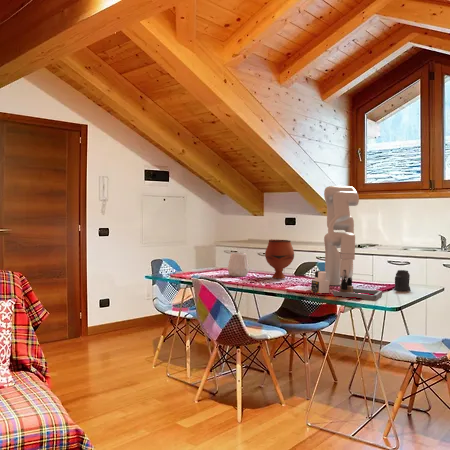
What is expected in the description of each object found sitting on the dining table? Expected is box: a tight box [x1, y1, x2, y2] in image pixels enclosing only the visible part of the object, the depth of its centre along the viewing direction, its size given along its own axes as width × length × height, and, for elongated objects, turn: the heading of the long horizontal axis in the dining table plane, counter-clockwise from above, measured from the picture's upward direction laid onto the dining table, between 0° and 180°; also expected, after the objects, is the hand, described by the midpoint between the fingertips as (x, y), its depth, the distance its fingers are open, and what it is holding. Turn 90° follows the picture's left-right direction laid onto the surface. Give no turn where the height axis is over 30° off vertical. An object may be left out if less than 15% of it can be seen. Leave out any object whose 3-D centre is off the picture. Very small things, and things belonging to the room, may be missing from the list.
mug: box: [393, 269, 411, 293], centre depth 285 cm, size 12×9×11 cm
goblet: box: [264, 238, 295, 280], centre depth 328 cm, size 19×19×25 cm
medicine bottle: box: [310, 270, 330, 294], centre depth 273 cm, size 7×7×12 cm
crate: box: [339, 285, 354, 293], centre depth 268 cm, size 6×5×4 cm
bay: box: [332, 287, 383, 301], centre depth 265 cm, size 22×16×2 cm
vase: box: [227, 252, 250, 278], centre depth 336 cm, size 14×14×15 cm
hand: (346, 288), depth 268 cm, fingers open, 9 cm apart
